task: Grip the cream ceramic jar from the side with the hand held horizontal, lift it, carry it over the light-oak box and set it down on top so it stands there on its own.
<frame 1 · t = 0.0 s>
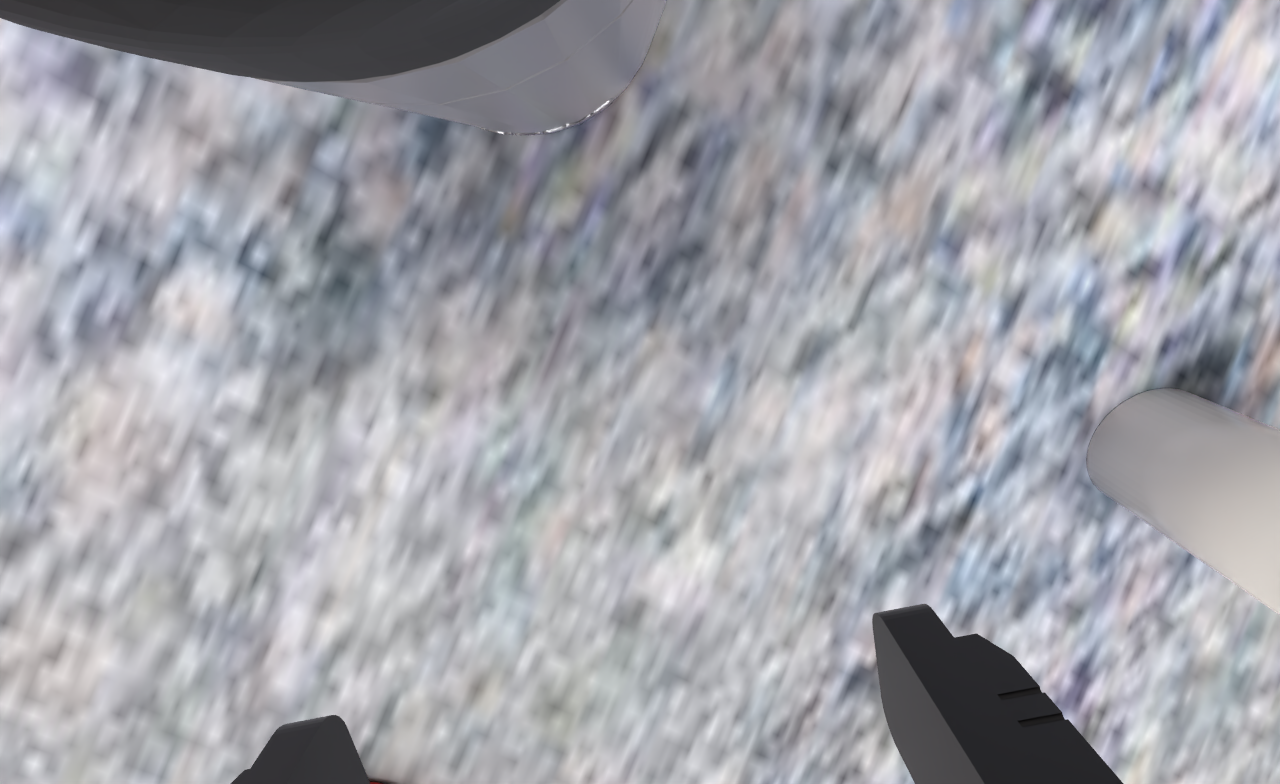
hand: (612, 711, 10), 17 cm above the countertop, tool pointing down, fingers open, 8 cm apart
cream jar: (1149, 446, 28), on the countertop
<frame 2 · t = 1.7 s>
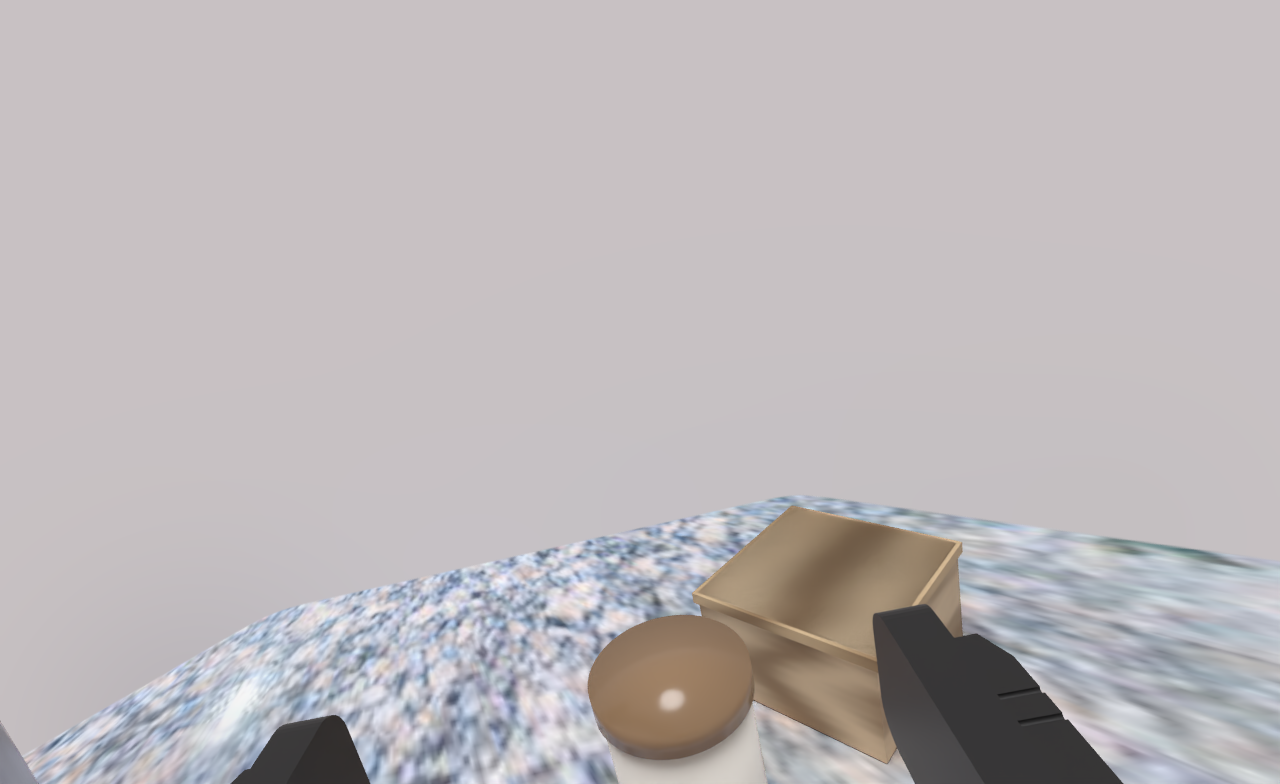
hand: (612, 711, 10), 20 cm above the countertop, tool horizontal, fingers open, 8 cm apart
oak box: (838, 658, 36), on the countertop
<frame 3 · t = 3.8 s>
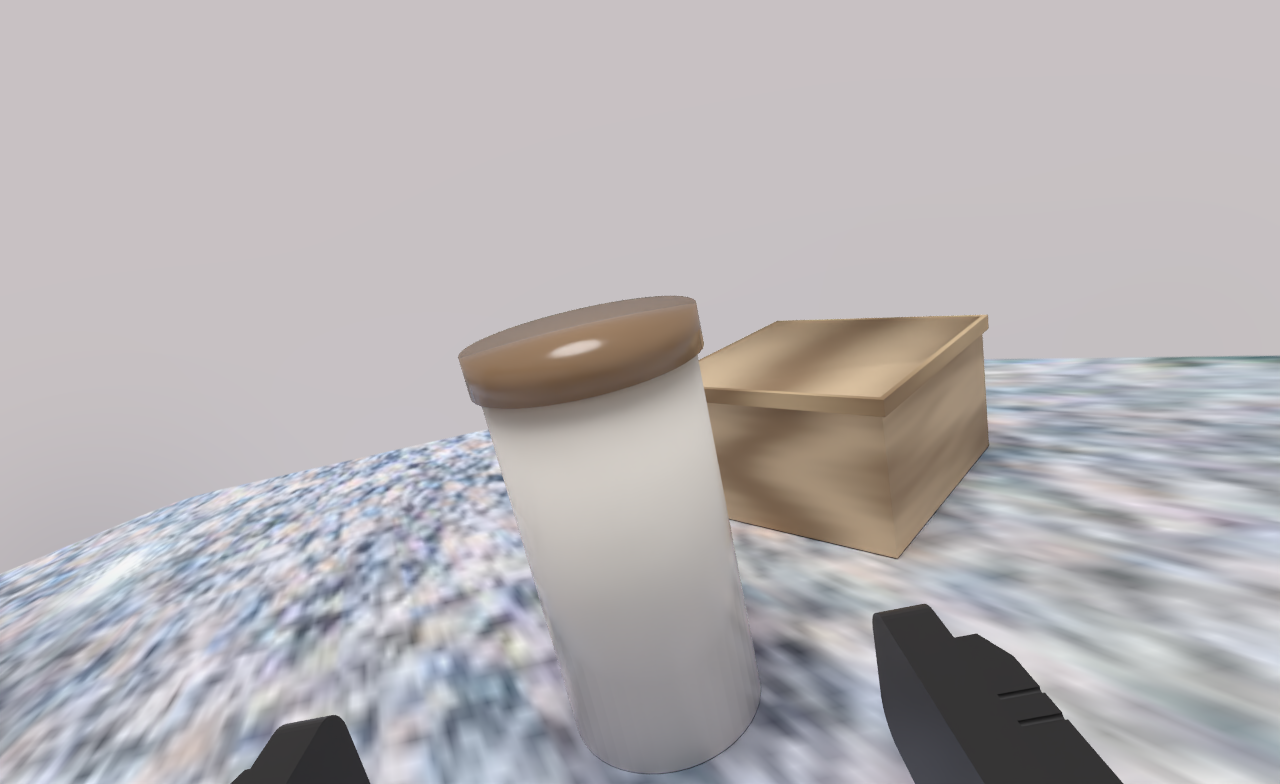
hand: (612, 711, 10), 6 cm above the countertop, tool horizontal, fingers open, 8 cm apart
oak box: (833, 476, 29), on the countertop
cream jar: (667, 692, 19), on the countertop
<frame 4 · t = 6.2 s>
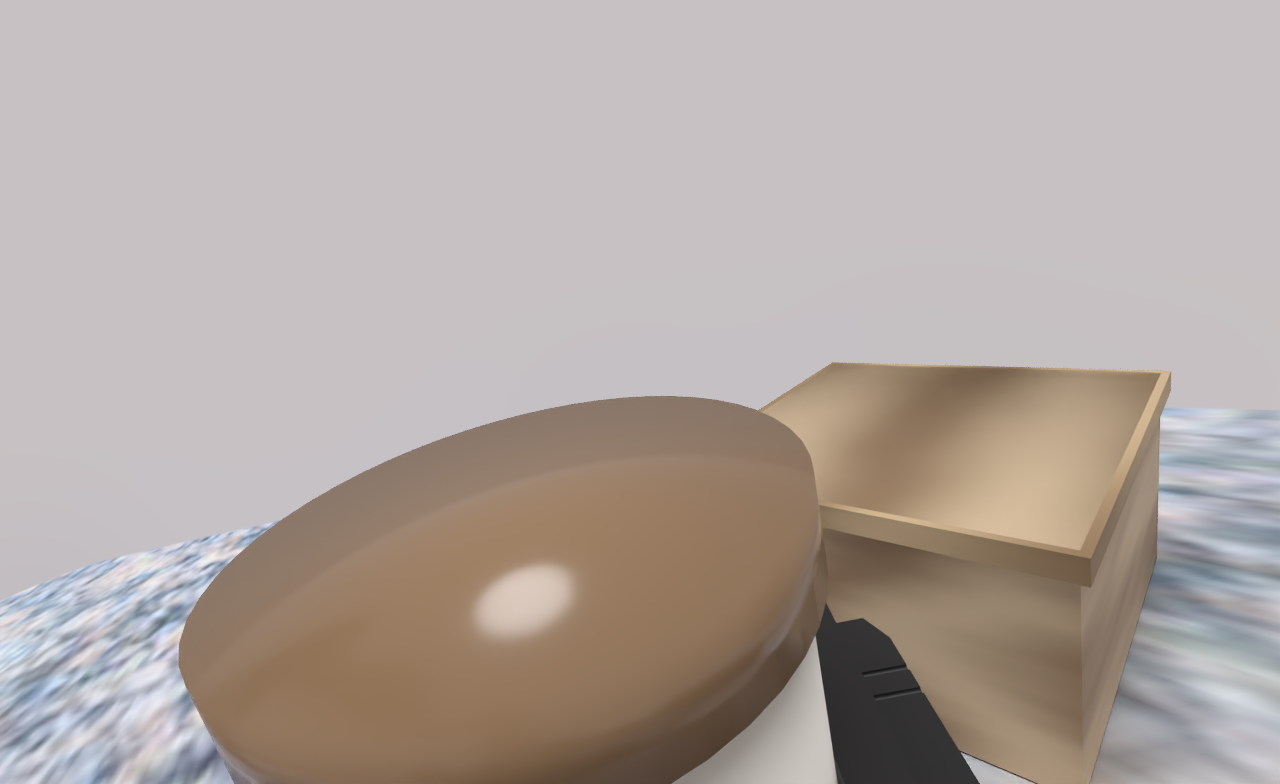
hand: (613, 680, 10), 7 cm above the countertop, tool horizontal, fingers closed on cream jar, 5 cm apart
oak box: (928, 600, 20), on the countertop
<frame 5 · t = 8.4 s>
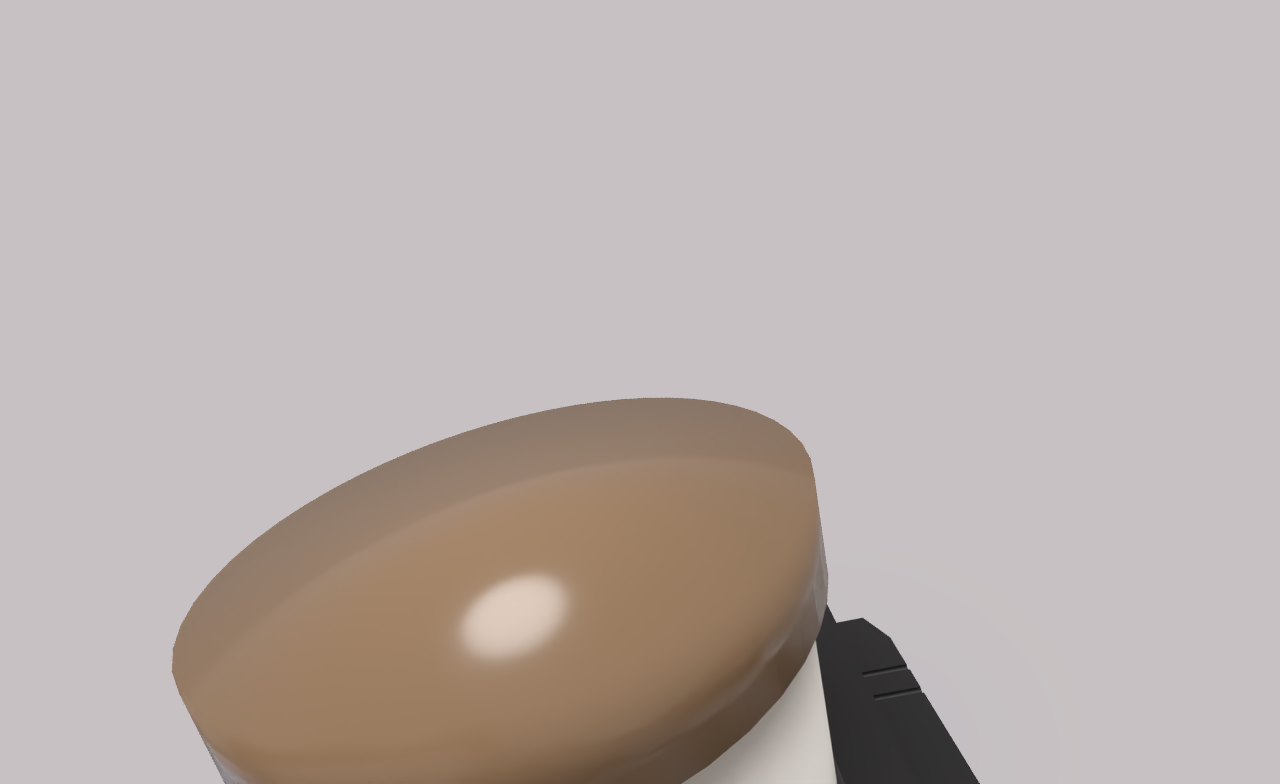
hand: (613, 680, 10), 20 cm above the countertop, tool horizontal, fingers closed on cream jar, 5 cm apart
when the fingers open (13 cm above the countertop, at t = 10.6 s): cream jar stays where it is, resting on oak box.
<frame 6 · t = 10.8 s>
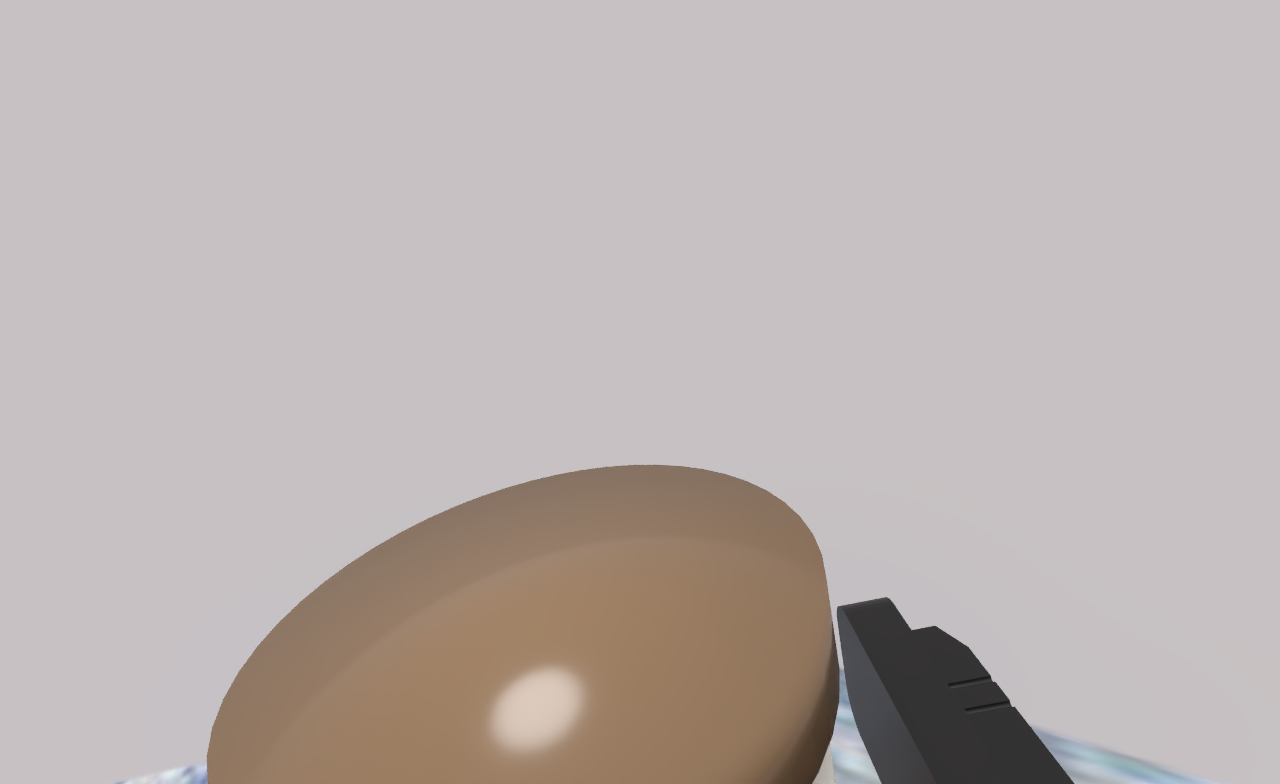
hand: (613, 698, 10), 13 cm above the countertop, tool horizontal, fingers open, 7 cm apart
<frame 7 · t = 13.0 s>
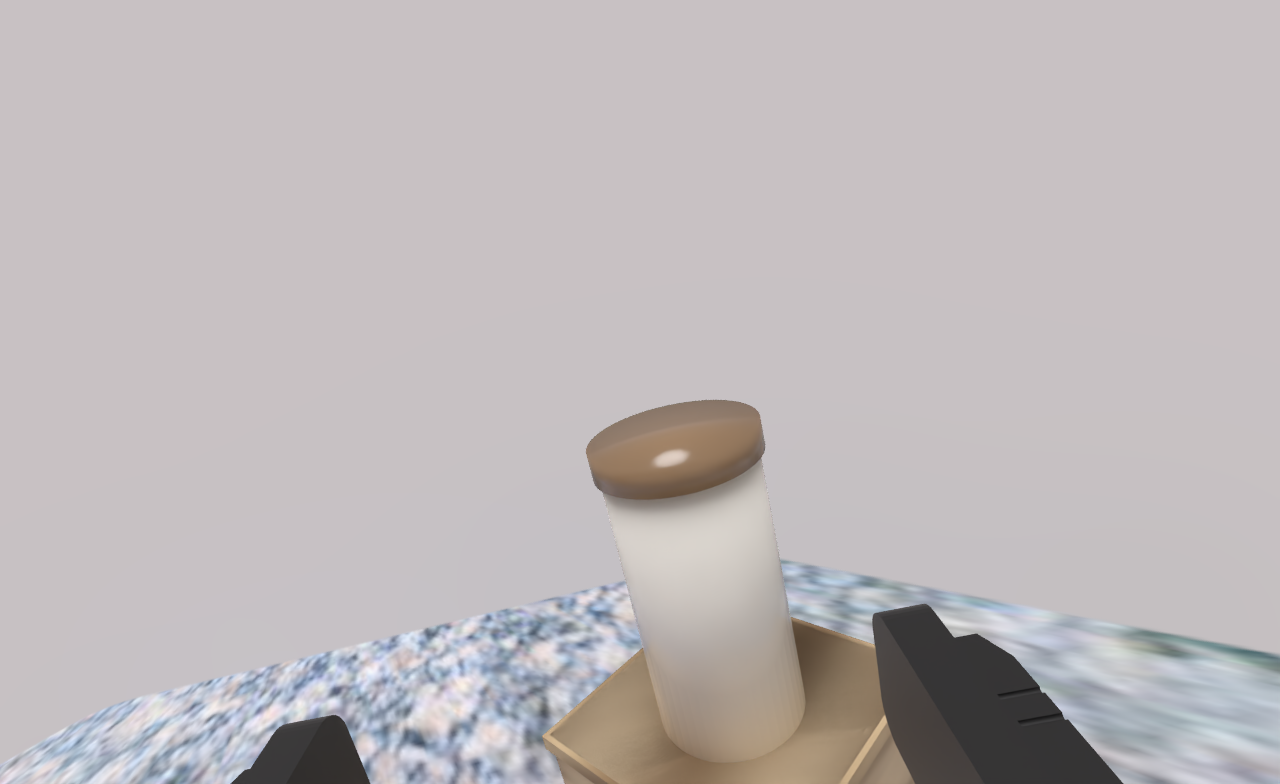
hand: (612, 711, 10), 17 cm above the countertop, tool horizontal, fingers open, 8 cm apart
cream jar: (731, 702, 24), point 6 cm above the countertop, touching oak box
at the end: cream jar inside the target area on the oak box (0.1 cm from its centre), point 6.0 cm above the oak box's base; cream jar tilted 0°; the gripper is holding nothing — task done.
